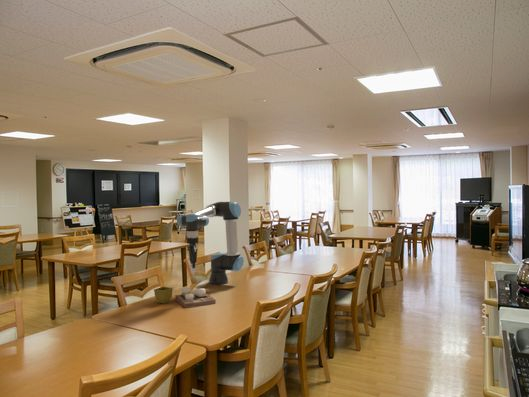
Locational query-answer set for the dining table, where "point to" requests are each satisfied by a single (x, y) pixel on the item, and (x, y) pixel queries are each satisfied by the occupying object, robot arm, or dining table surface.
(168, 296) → the flower pot
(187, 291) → the white egg
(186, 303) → the egg tray
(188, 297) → the cream rounded oval
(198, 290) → the white egg
